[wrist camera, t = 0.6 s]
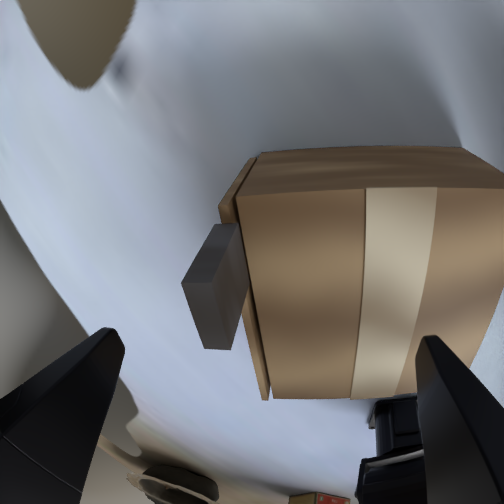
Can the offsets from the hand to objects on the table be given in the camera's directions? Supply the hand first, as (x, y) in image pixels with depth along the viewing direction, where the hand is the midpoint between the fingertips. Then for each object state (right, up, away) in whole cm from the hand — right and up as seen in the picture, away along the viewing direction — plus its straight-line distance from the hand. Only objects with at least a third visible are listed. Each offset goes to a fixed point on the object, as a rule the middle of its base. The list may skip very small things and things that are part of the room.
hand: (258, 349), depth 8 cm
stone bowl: (-16, -49, +50) cm, 72 cm away
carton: (+8, +3, +13) cm, 15 cm away
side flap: (+1, +3, +14) cm, 14 cm away
